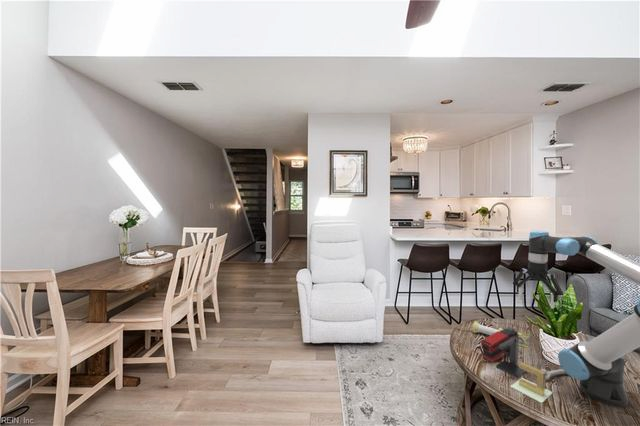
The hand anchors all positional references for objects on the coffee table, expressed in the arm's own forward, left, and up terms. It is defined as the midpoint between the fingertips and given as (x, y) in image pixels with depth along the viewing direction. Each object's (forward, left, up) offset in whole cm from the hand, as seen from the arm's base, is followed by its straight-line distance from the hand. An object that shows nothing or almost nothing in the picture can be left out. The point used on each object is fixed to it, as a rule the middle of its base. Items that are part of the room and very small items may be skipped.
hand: (535, 303), depth 138 cm
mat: (-6, +18, -35) cm, 40 cm away
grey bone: (-8, -4, -35) cm, 36 cm away
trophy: (+24, -19, -35) cm, 47 cm away
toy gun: (+15, +1, -35) cm, 38 cm away
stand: (+6, +13, -35) cm, 38 cm away
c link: (-6, +18, -34) cm, 39 cm away
